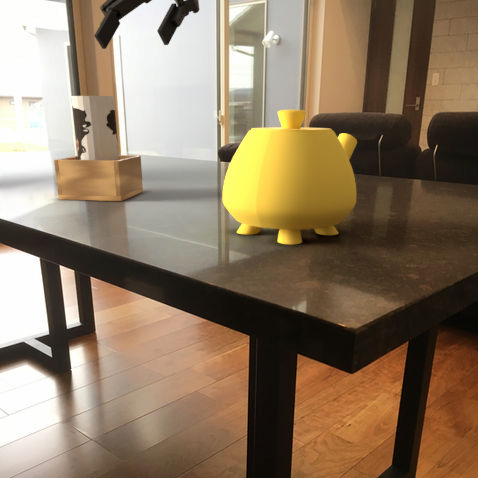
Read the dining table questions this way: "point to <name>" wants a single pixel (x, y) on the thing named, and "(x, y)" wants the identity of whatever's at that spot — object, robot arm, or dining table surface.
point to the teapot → (291, 179)
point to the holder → (98, 178)
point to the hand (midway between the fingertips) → (130, 40)
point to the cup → (95, 127)
